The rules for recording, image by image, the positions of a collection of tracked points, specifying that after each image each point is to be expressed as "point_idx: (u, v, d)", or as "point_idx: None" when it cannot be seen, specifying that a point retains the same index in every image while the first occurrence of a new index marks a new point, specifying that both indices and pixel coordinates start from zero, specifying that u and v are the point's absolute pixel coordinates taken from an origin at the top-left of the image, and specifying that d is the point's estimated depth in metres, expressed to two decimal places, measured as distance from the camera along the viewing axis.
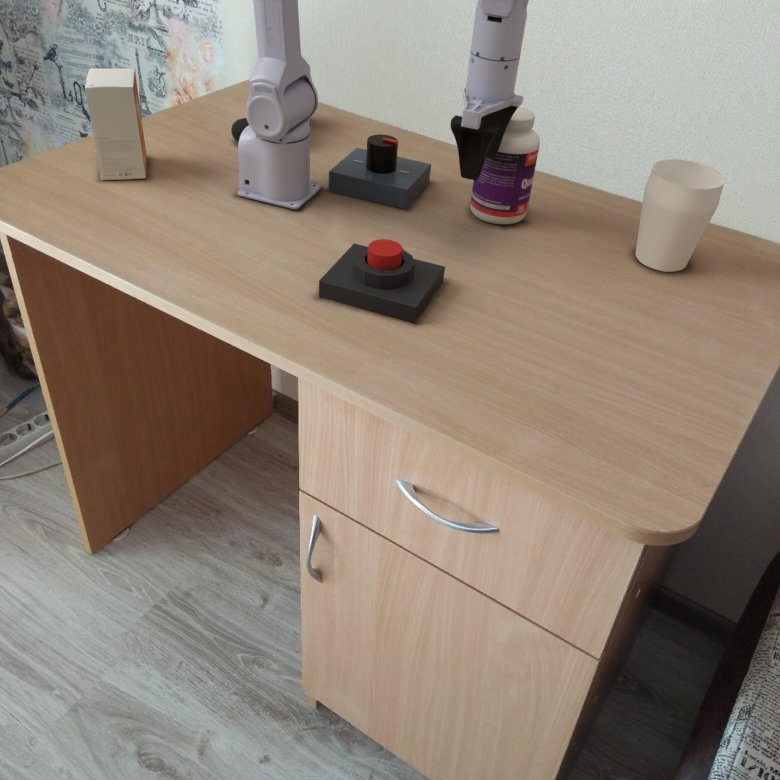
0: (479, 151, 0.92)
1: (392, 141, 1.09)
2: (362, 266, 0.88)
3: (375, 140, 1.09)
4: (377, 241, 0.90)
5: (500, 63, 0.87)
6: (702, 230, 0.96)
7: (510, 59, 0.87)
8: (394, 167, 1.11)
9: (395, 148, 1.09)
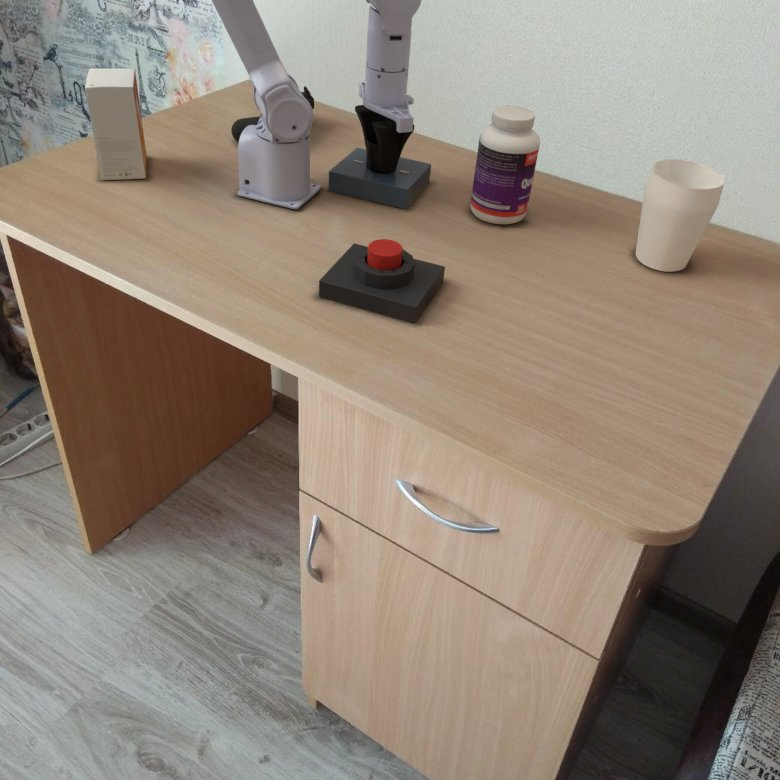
0: (396, 145, 1.08)
1: None
2: (362, 266, 0.88)
3: (375, 140, 1.09)
4: (377, 241, 0.90)
5: (404, 72, 1.02)
6: (702, 230, 0.96)
7: (408, 67, 1.03)
8: None
9: None
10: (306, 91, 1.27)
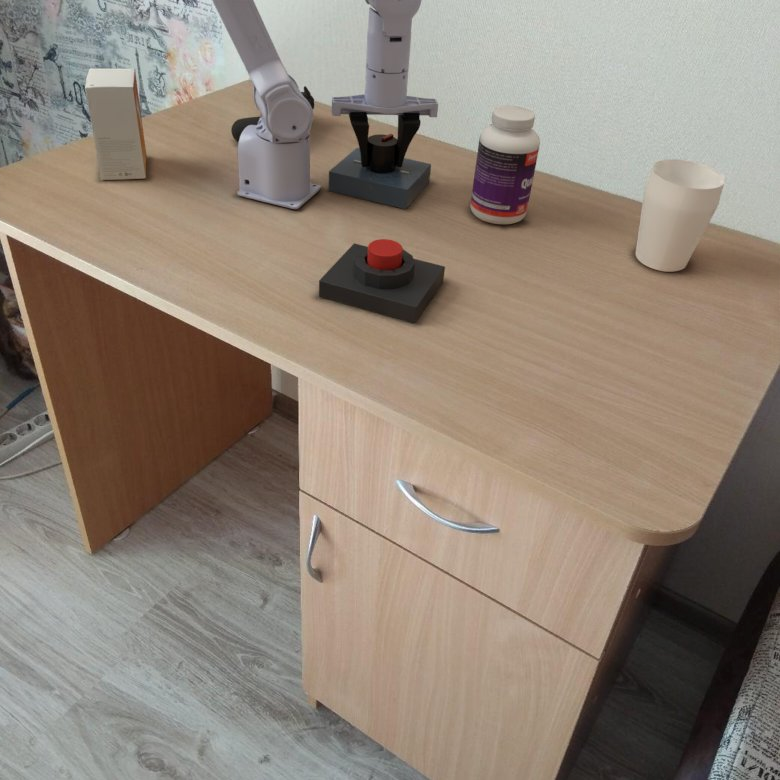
0: None
1: (390, 136, 1.11)
2: (362, 266, 0.88)
3: (383, 143, 1.09)
4: (377, 241, 0.90)
5: None
6: (702, 230, 0.96)
7: None
8: None
9: None
10: (306, 91, 1.27)
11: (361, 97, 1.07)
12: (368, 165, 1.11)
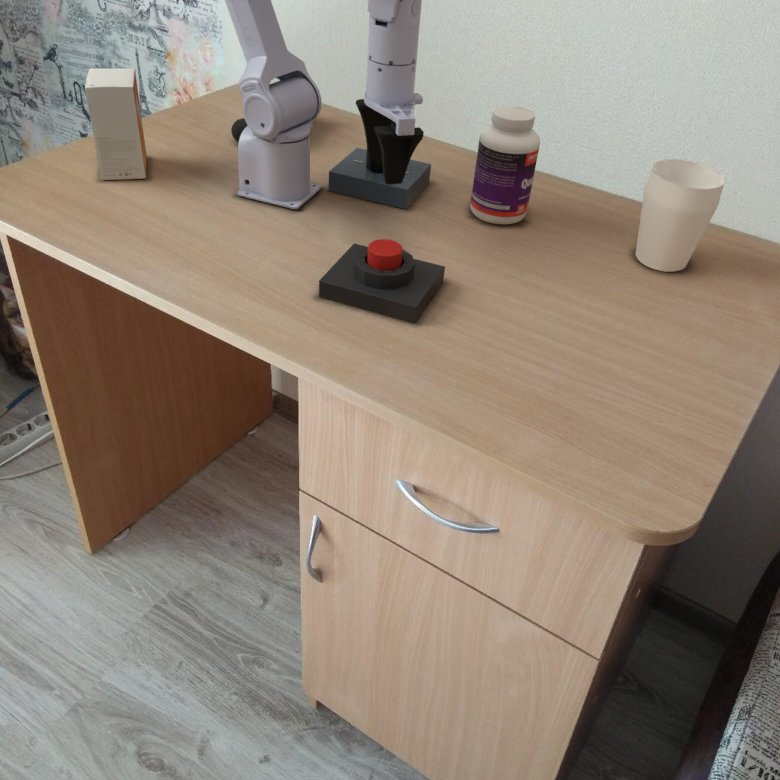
0: (403, 155, 0.93)
1: None
2: (362, 266, 0.88)
3: None
4: (377, 241, 0.90)
5: (409, 66, 0.89)
6: (702, 230, 0.96)
7: (415, 61, 0.89)
8: None
9: None
10: None
11: None
12: (368, 165, 1.11)
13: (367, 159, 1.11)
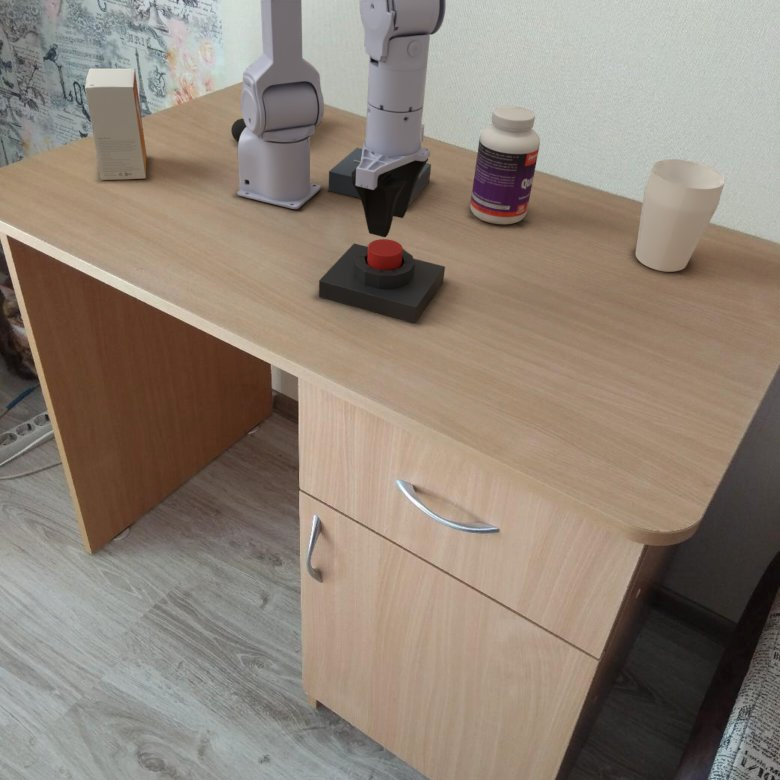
0: (385, 206, 0.82)
1: None
2: (362, 266, 0.88)
3: None
4: (377, 241, 0.90)
5: (398, 115, 0.76)
6: (702, 230, 0.96)
7: (410, 110, 0.77)
8: None
9: None
10: None
11: None
12: None
13: None
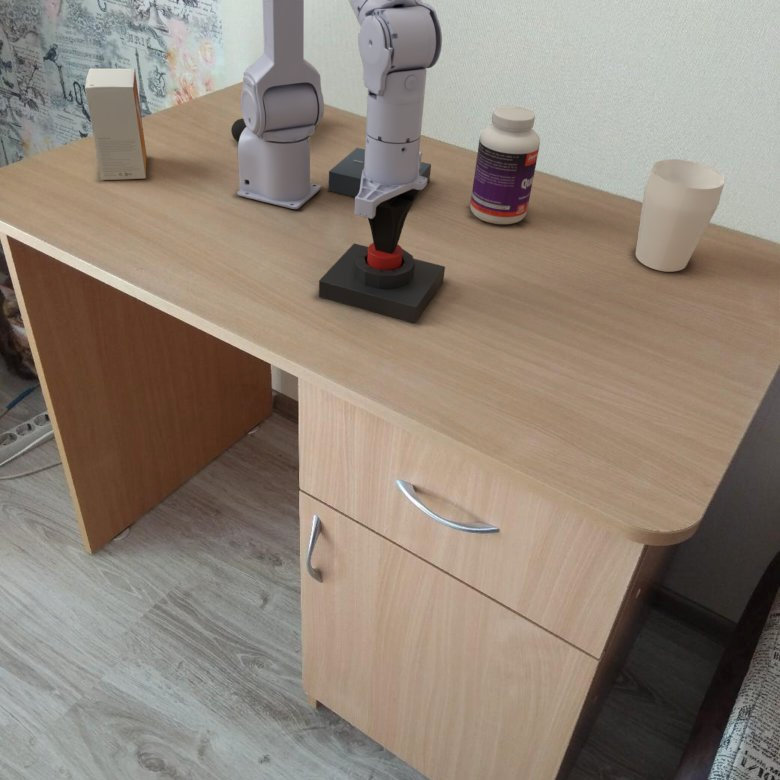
0: (391, 224, 0.86)
1: None
2: (362, 266, 0.88)
3: None
4: None
5: (396, 146, 0.78)
6: (702, 230, 0.96)
7: (407, 141, 0.79)
8: None
9: None
10: None
11: None
12: None
13: None
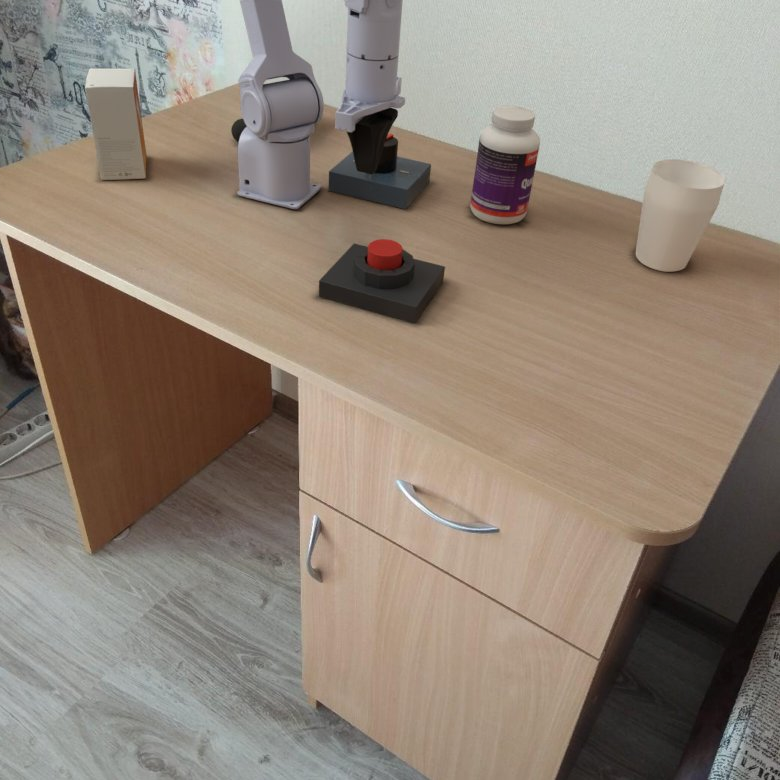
0: (372, 144, 0.90)
1: (390, 136, 1.11)
2: (362, 266, 0.88)
3: None
4: (377, 241, 0.90)
5: (375, 63, 0.83)
6: (702, 230, 0.96)
7: (385, 59, 0.83)
8: None
9: None
10: None
11: None
12: None
13: None
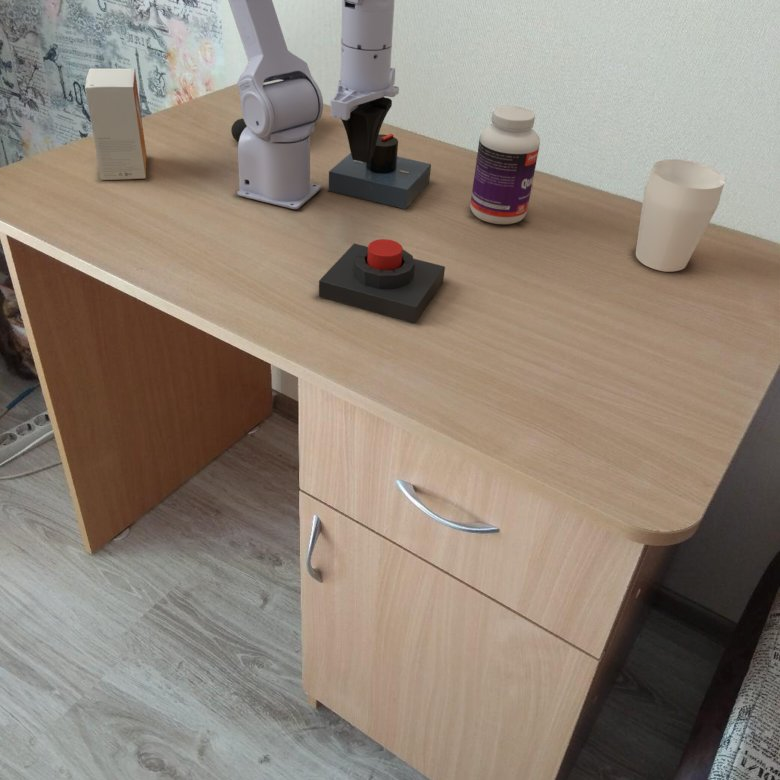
0: (366, 133, 0.93)
1: (390, 136, 1.11)
2: (362, 266, 0.88)
3: (383, 143, 1.09)
4: (377, 241, 0.90)
5: (368, 52, 0.85)
6: (702, 230, 0.96)
7: (379, 48, 0.85)
8: None
9: None
10: None
11: None
12: (368, 165, 1.11)
13: None
